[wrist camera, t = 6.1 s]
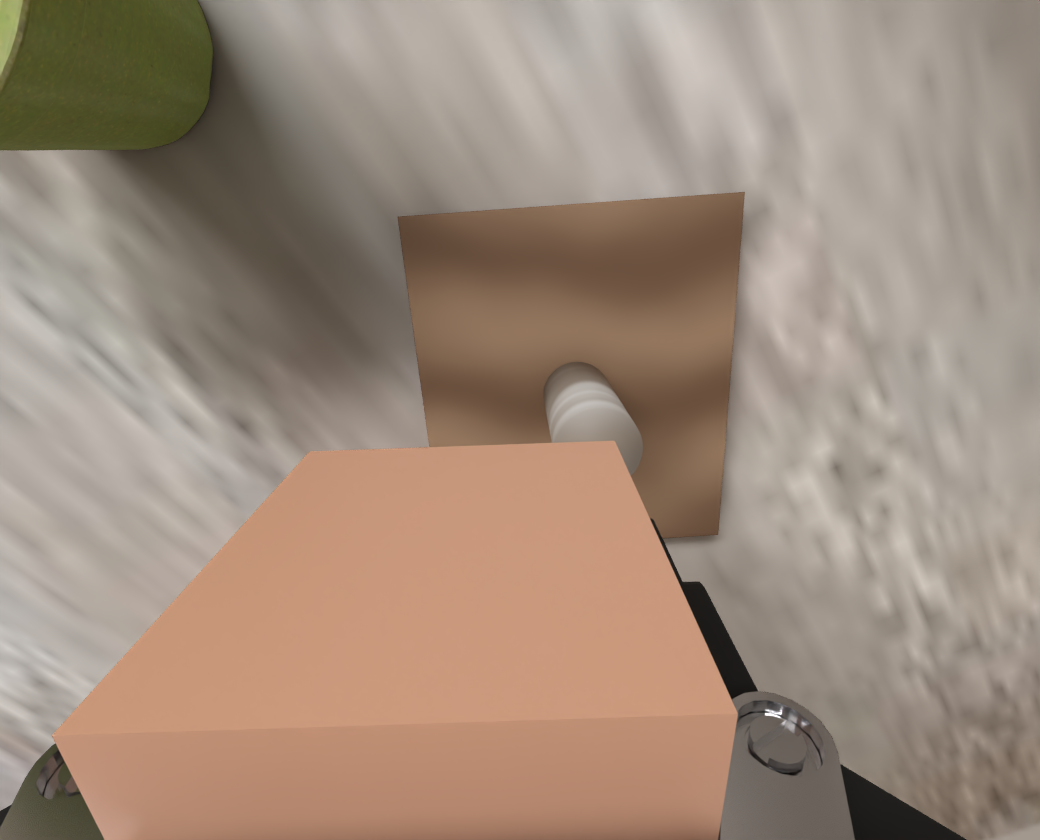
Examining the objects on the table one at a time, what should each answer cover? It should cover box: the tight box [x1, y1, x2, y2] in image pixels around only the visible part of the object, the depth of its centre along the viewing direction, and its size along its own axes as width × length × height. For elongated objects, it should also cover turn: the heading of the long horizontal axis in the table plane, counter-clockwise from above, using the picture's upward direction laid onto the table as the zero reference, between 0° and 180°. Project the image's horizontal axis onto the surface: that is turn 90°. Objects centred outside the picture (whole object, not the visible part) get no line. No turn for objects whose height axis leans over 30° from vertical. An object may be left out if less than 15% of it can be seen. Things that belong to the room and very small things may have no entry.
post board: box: [398, 192, 745, 538], centre depth 21 cm, size 16×14×8 cm
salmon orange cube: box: [52, 441, 738, 840], centre depth 8 cm, size 6×6×6 cm
